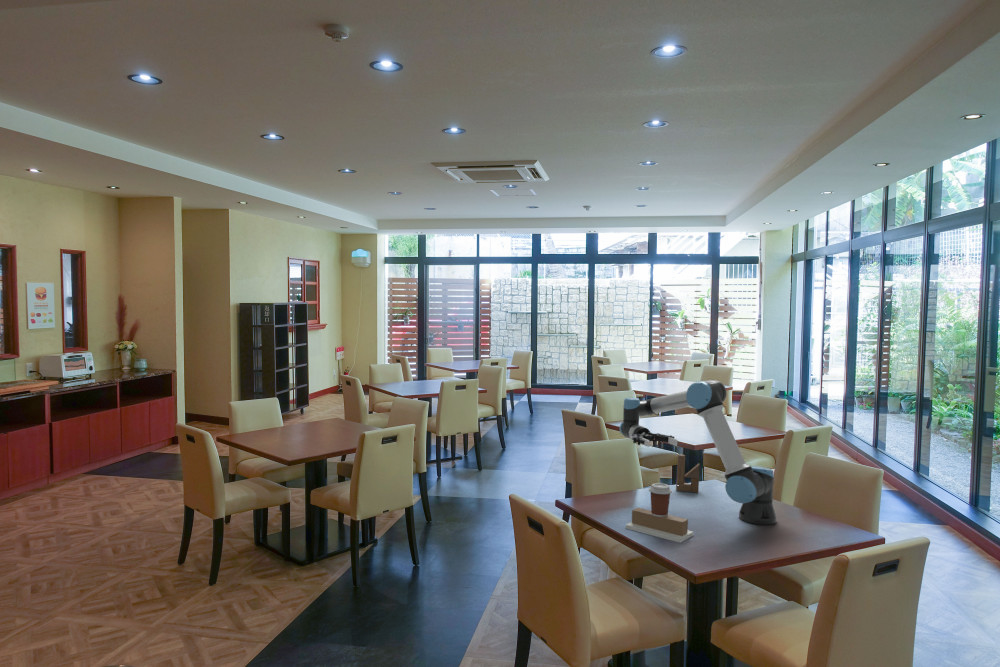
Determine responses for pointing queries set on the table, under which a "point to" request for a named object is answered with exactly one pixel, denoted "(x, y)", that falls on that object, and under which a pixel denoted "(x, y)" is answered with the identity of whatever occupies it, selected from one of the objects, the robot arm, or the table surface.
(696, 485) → the brown wooden angular stand
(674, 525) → the stand
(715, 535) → the table surface
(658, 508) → the coffee cup
